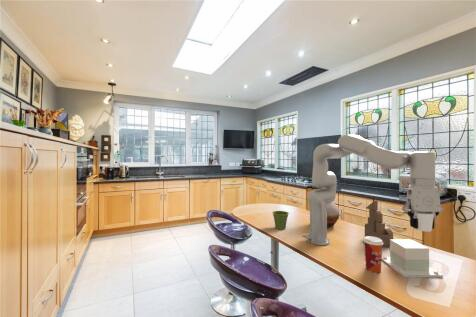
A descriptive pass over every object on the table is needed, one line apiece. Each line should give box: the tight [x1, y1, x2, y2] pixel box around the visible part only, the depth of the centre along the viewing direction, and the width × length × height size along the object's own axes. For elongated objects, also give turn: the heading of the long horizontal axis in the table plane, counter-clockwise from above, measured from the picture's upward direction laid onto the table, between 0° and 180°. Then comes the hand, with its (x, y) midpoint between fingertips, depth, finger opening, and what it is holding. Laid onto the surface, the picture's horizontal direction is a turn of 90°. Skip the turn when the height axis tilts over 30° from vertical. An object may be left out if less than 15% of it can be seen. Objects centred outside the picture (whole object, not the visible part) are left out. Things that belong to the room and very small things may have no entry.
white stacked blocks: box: [381, 238, 444, 278], centre depth 98 cm, size 16×16×11 cm
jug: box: [324, 201, 340, 228], centre depth 158 cm, size 20×18×30 cm
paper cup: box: [363, 236, 383, 274], centre depth 96 cm, size 8×8×14 cm
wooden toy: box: [364, 200, 394, 248], centre depth 127 cm, size 15×7×25 cm, turn 16°
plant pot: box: [272, 210, 290, 231], centre depth 154 cm, size 12×12×11 cm
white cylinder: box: [412, 211, 434, 233], centre depth 85 cm, size 7×7×7 cm
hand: (422, 227), depth 85 cm, fingers closed on white cylinder, 5 cm apart
